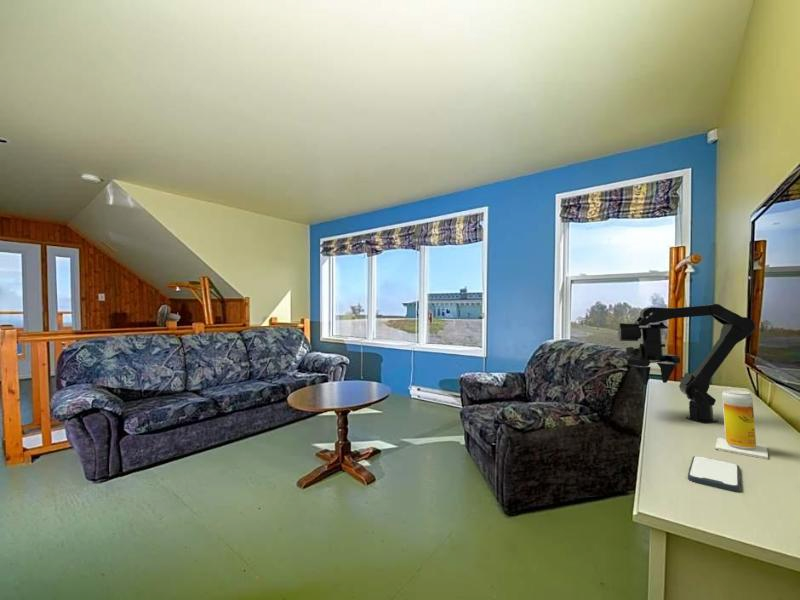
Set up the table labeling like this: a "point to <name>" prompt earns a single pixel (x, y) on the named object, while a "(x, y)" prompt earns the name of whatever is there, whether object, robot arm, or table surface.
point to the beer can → (739, 419)
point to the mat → (758, 451)
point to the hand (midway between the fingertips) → (655, 383)
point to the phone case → (715, 473)
